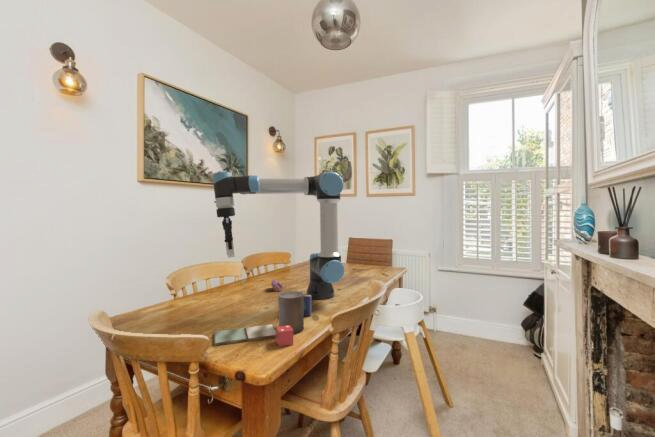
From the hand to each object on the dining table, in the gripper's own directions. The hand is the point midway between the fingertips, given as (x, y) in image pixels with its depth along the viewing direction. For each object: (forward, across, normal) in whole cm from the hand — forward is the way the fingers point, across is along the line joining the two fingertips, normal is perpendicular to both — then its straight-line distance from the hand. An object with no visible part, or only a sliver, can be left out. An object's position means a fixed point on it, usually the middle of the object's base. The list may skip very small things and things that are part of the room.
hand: (230, 255), depth 133 cm
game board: (+28, +24, +2) cm, 36 cm away
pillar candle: (+29, +23, +18) cm, 42 cm away
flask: (+29, +9, +26) cm, 41 cm away
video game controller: (+27, -37, +24) cm, 51 cm away
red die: (+29, +34, +14) cm, 47 cm away
